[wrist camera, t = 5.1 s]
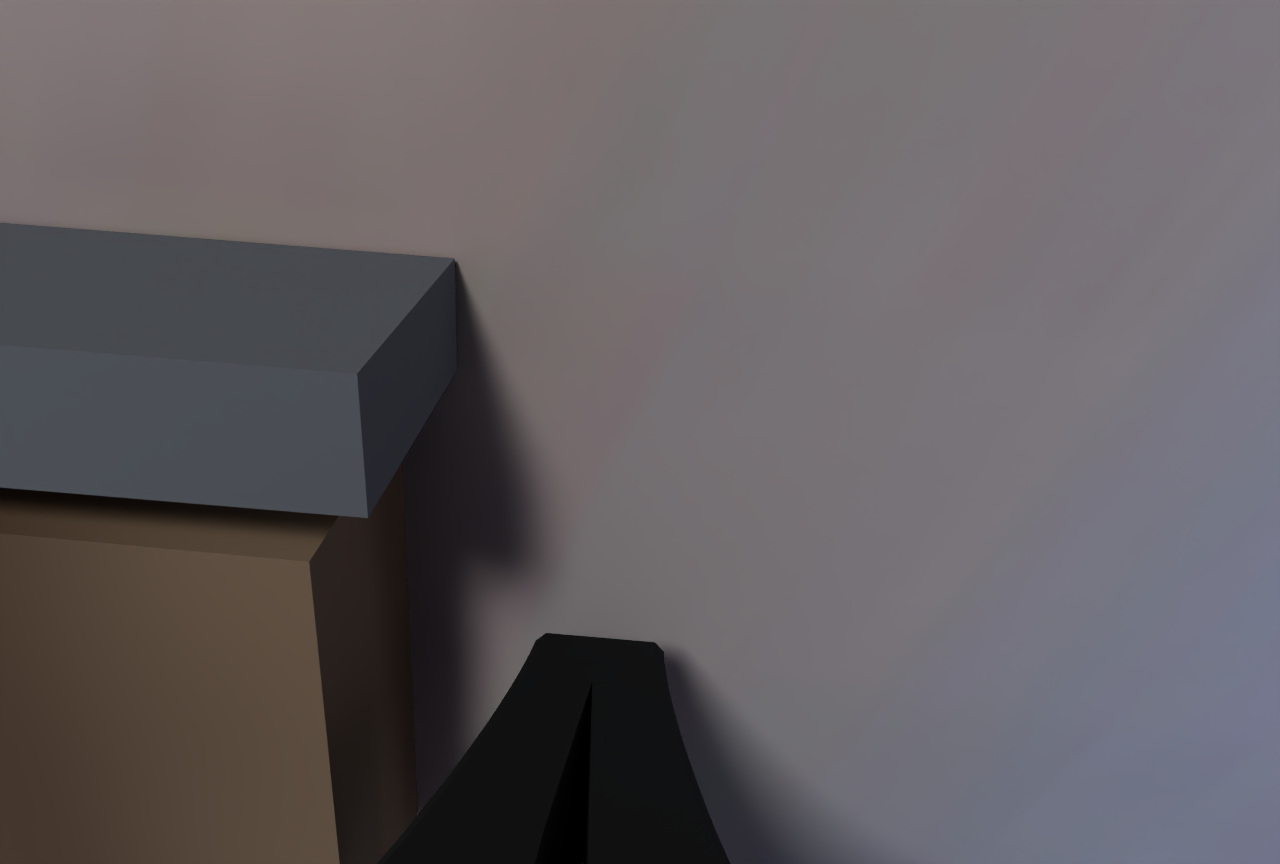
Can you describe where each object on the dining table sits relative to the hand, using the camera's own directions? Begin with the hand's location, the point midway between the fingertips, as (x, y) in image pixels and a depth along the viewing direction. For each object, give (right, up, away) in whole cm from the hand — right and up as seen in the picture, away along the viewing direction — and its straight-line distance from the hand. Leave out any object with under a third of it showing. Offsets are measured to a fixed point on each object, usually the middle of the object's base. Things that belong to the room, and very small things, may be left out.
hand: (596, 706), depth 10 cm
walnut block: (-5, +1, +1) cm, 6 cm away
